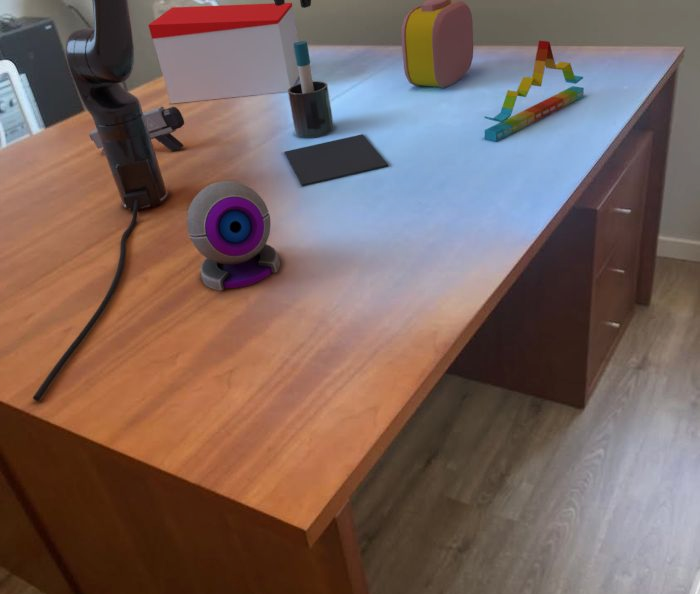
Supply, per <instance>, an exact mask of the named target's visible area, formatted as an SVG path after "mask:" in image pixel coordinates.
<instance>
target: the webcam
mask: <svg viewBox="0 0 700 594" xmlns="http://www.w3.org/2000/svg"><path fill="white" fill-rule="evenodd" d="M187 211H188V212H187V216H186V227H187V234H188V237H189V239H190V241H191V243H192V244H193V246H194V247H195V248H196V250H197V251H198V252H199V253H200V254H201V255H202V256H203V257H205V259H204V260H203V262H202V263H201V265H200V276H201V279H202V282H203V284H204V285H205V286H206V287H208V288H210V289H212V290H217V291H223V290H224V289H236V288H242V287H243V288H244V287H247V286H250V285H253V284H256V283H259V282H260V281H263V280H264V279H266V278H267V277H268V276H270V275H271V273H277V272H278V271H279V269H280V266H281V260H280V257H279V254H278V251H277V250H276V249H275V248H274V247H273V246H271V245H270V244H268V243H267V242H268V240H269V236H270V235H271V234H270V233H271V225H272V224H271V217H270V216H271V215H270V213H269V209H268V206H267V204H266V203H265V201H264V199H263V198H262V196H261V195H259V193H258V192H257V191H255V189H253V188H251V187H250V186H248V185H246V184H244V183H241V182H237V181H234V180H233V181H231V180H224V181H217V182H214V183H211V184H209V185H208V186H205V187H204V188H202V189H201V190H200V191H199V192H198V193H197V194H196V195H195V196H194V198H193V200H191V202H190V205H189V207H188V210H187Z"/></svg>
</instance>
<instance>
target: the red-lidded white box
mask: <svg viewBox="0 0 700 594" xmlns="http://www.w3.org/2000/svg"><path fill="white" fill-rule="evenodd" d="M293 7H294V6H293V3H292V2H285V3H284V4H283V5H280V6H276V5H275V2H273V3H250V4H249V3H248V4H224V5H223V4H222V5H197V6H196V5H195V6H172V7H171V8H170V9H168V10H166V12H164V13H162V14H161V15H160V16H158V17H157V18H155V19H154V20H153V21H152V22H150V23H149V24H148V25H147V26H148V29H149V33H150V36H151V39H152V41H153V45H154V49H155V52H156V55H157V58H158V62H159V66H160V70H161V74H162V77H163V81H164V84H165V88H166V91H167V96H168V99H169V102H170V104H171V105H172V104H181V103H182V104H183V103H193V102H200V101H201V102H203V101H210V100H211V101H212V100H220V99H221V100H222V99H229V98H240V97H250V96H259V95H260V96H261V95H269V94H278V93H288V89H289V88H291V87H292V86H294V85H296V84H297V81H298V80H299V78H300V76H299V70H298V66H297V63H296V57H295V51H294V45H293V44H294V43H296V42H299V38H298V32H297V25H296V19H295V13H294V8H293Z"/></svg>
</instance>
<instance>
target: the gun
mask: <svg viewBox="0 0 700 594" xmlns="http://www.w3.org/2000/svg"><path fill="white" fill-rule="evenodd" d="M143 115H144V118H145V121H146V125H147V128H148V132H149V135H150V138H151V140H153V139H154V140H157V142H159V143H161V144H162V145H163V146H164V147H166V148H167V150H170V151H171V152H176V151H179V150H181V149H183V148H184V143H182V142H181V141H180V140H179V139H178V138H176V137H175V136H174V135H173V134H172V133H175V132H176V131H177V130H178V129H181V128H182V127H184V125H185V119H184V117H183V115H182V113H181V111H180V109H178V108H177V107H176V106H170V107H168V108H165V107H164V106H162V105H161V106H159V107H156V108H153V109H149V110H147V111H143ZM89 138H90V140H91V141H93V143H94V144H95V146H96V148H97V149H101V148H102V149H101V152H102V153H103V154H104V155H106V154H105V151H104V148H103V146H102V143H101V140H100V137H99V134H98V131H97V128H96V129H95V128H94V129H93V130H92V131H90V132H89Z"/></svg>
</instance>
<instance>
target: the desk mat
mask: <svg viewBox="0 0 700 594" xmlns="http://www.w3.org/2000/svg"><path fill="white" fill-rule="evenodd" d="M284 155H285V157H286V158H287V160H288V163H289V164H290V166H291V169H292V170H293V171H294V174H295V175H296V177H297V180H298V181H299V183H300V185H301V187H304V186H305V187H306V186H309V185H313V184H318V183H322V182H326V181H332V180H335V179H340V178H343V177H347V176H353V175H356V174H361V173H365V172H369V171H374V170H379V169H384V168H387V167H389V163H388V162H387V161H386V160H385V159H384V157H382V155H381V154H380V152H379V151H378V150H377V149H376V148H375V147H374V146H373V144H371V142H370V141H369V140H368V139H367V137H365V135H364V134H363V133H361V134H357V135H353V136H348V137H344V138H339V139H334V140H331V141H330V140H329V141H326V142H321V143H317V144H312V145H307V146H303V147H298V148H294V149H290V150H285V151H284Z"/></svg>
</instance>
